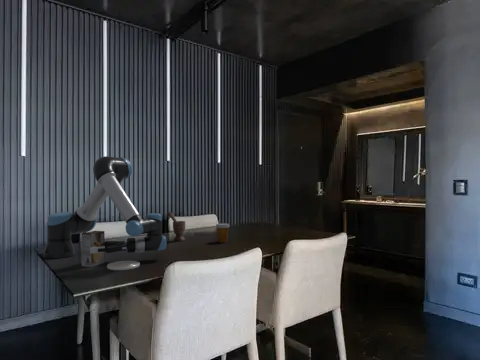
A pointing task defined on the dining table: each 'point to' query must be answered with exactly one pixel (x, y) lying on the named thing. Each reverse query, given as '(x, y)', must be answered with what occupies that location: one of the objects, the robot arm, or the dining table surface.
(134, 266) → the plate
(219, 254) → the dining table surface
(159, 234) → the robot arm
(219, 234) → the disposable coffee cup
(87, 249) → the coffee box
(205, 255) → the dining table surface
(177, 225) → the mortar and pestle
